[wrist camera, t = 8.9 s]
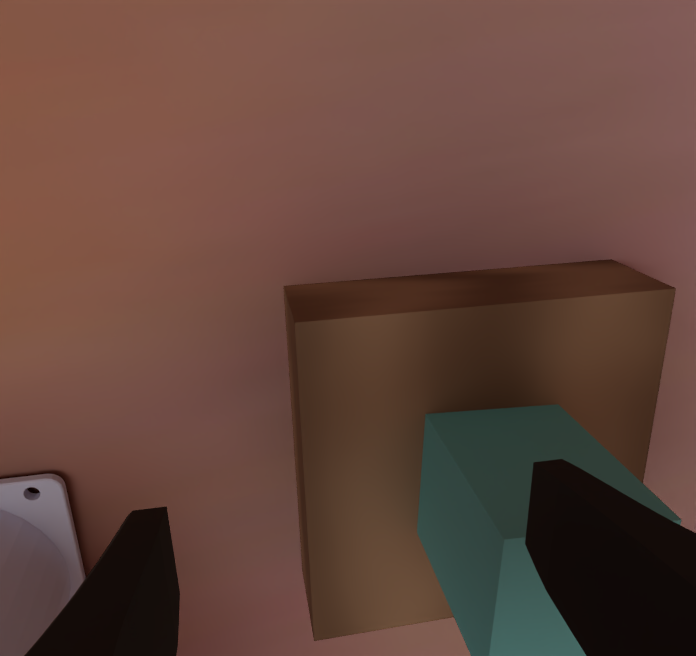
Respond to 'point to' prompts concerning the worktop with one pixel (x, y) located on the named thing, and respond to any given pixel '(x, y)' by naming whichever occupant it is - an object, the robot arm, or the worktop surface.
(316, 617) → the walnut base
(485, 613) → the teal block
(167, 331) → the worktop surface
